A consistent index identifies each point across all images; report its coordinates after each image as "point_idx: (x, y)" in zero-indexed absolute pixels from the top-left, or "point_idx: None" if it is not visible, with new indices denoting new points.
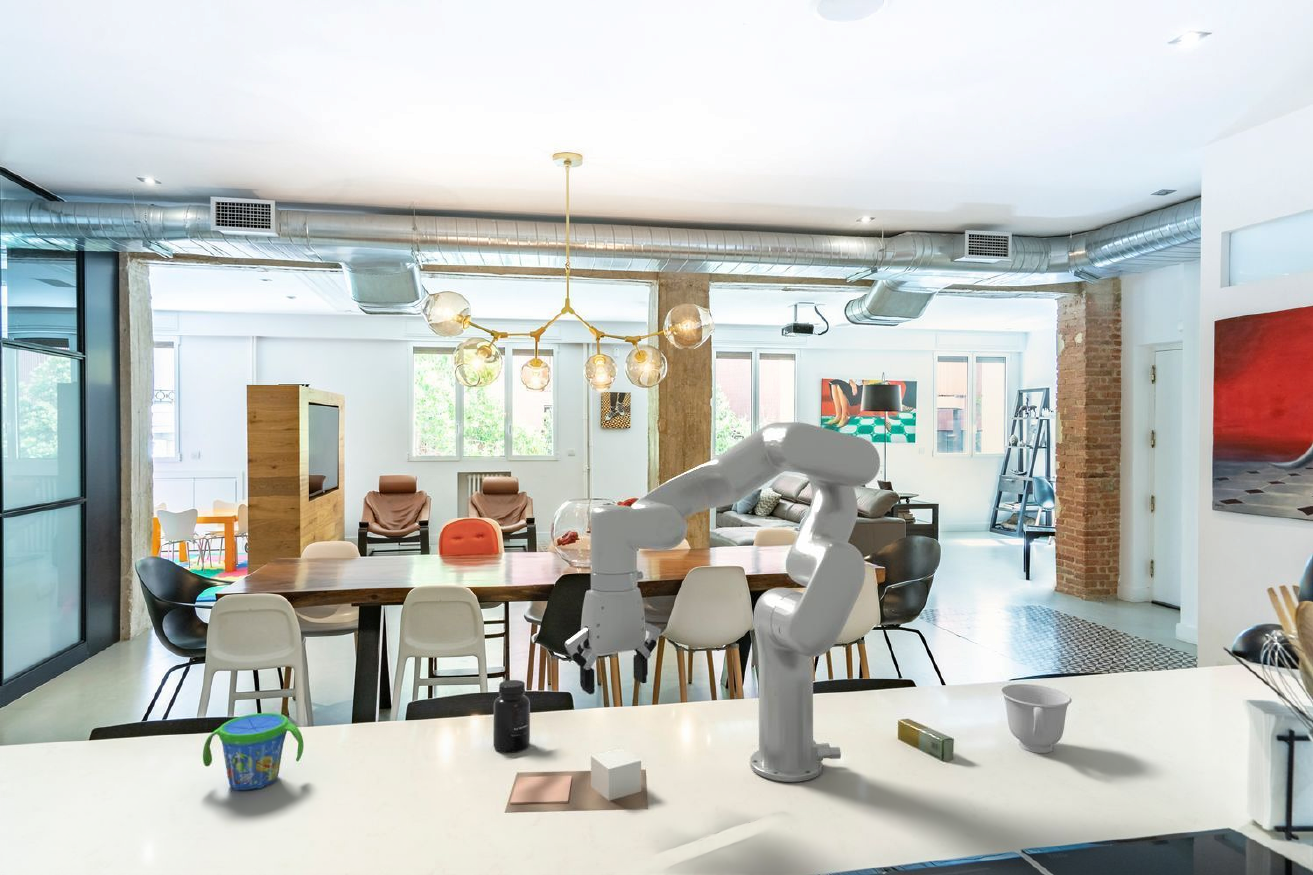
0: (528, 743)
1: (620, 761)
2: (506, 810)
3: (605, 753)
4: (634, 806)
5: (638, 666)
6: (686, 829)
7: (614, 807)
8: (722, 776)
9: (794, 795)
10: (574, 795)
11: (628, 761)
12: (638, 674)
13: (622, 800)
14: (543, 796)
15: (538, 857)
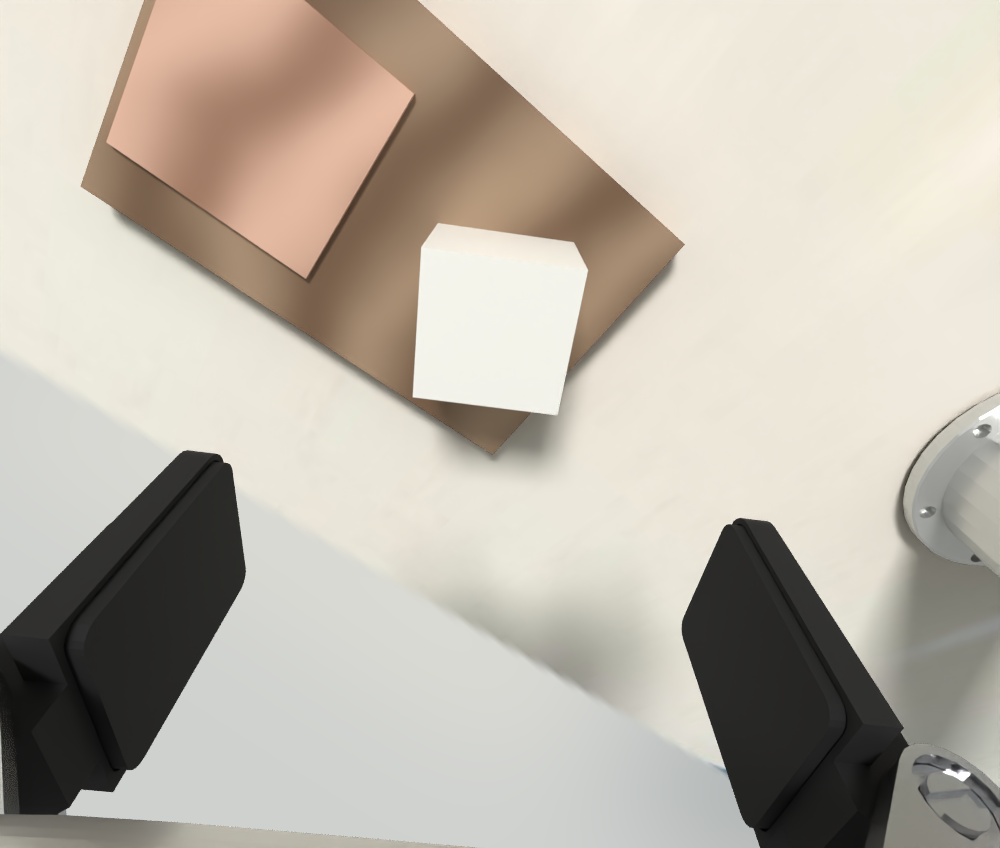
0: None
1: (489, 374)
2: (89, 178)
3: (489, 268)
4: (470, 423)
5: (746, 698)
6: (530, 526)
7: None
8: (848, 395)
9: (847, 570)
10: (352, 243)
11: (514, 392)
12: (717, 628)
13: None
14: (239, 187)
15: (159, 415)
